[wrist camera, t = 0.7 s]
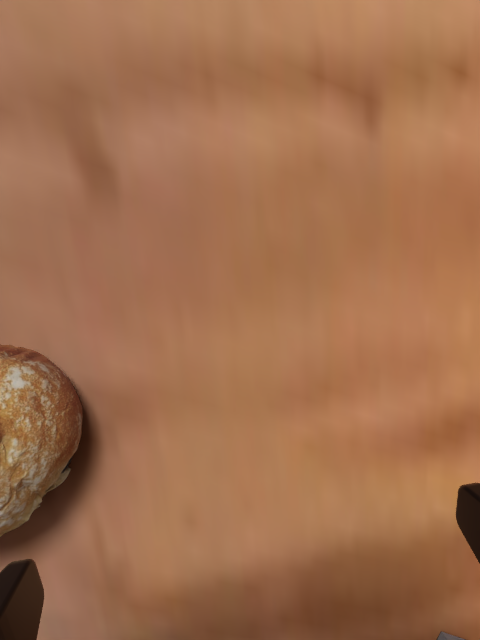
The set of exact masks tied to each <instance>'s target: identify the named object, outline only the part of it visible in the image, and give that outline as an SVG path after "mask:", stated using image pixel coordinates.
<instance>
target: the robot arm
mask: <svg viewBox="0 0 480 640" xmlns="http://www.w3.org/2000/svg"><path fill="white" fill-rule="evenodd" d="M456 519H457V523H458V525H459V528H460V529H461V531H462V533H463V535H464V537H465V538H466V540H467V542H468V544H469V545H470V547H471V549H472V551H473V553H474V554H475V556H476V558H477V560H478V561H479V563H480V483H472V484H466V485H462V486H460V488H459V490H458V498H457V508H456ZM43 602H44V589H43V585H42V582H41V579H40V576H39V573H38V569H37V566H36V564H35V562H34V560H32V559H26V560H20V561H14V562H11V563H10V564H8V565H7V566H6V567H5V568H4V569H3V570H2V571H1V572H0V640H36V639H37V634H38V629H39V623H40V618H41V613H42V607H43Z"/></svg>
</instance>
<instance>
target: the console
mask: <svg viewBox="0 0 480 640" xmlns="http://www.w3.org/2000/svg"><path fill="white" fill-rule="evenodd" d="M437 640H465V639H462V638H459V637H456V636H453V635H450V634H447V633H444V632H441V633H440V635H439V637H438V638H437Z"/></svg>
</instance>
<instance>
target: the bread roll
mask: <svg viewBox="0 0 480 640" xmlns="http://www.w3.org/2000/svg"><path fill="white" fill-rule="evenodd" d="M82 417H83V414H82V405H81V403H80V400H79V397H78V395H77V393H76V391H75V389H74V387H73V385H72V384H71V382H70V381H69V379H68V378H67V376H66V375H65V374H64V373H63V372H62V371H61V370H60V369H59V368H58V367H57V366H56V365H54V364H53V363H52V362H51V361H50V360H49V359H47V358H46V357H45V356H43V355H42V354H40V353H38V352H36V351H33V350H30V349H25V348H22V347H14V346H11V345H0V537H1V536H2V535H3V534H5V533H7V532H9V531H11V530H13V529H16V528H17V527H19V526H21V525H22V524H24V523H25V522H26V521H28V520H29V518H30V515H31V513H32V512H33V511H34V510H35V509H36V508H38V507H40V506H41V505H40V503H41V502H42V498H43V496H45V495H46V493H47V492H48V491H50V490H53V489H55V488H56V487H58V486H59V485H60V484H62V483H63V482H64V480H65V479H66V478H67V476H68V474H69V472H70V470H71V469H70V468H69V467H68V465H69V464H70V463H71V460H72V457H73V454H74V453H75V452H76V451H77V448H78V445H79V441H80V438H81V435H82V429H81V426H82Z"/></svg>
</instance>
